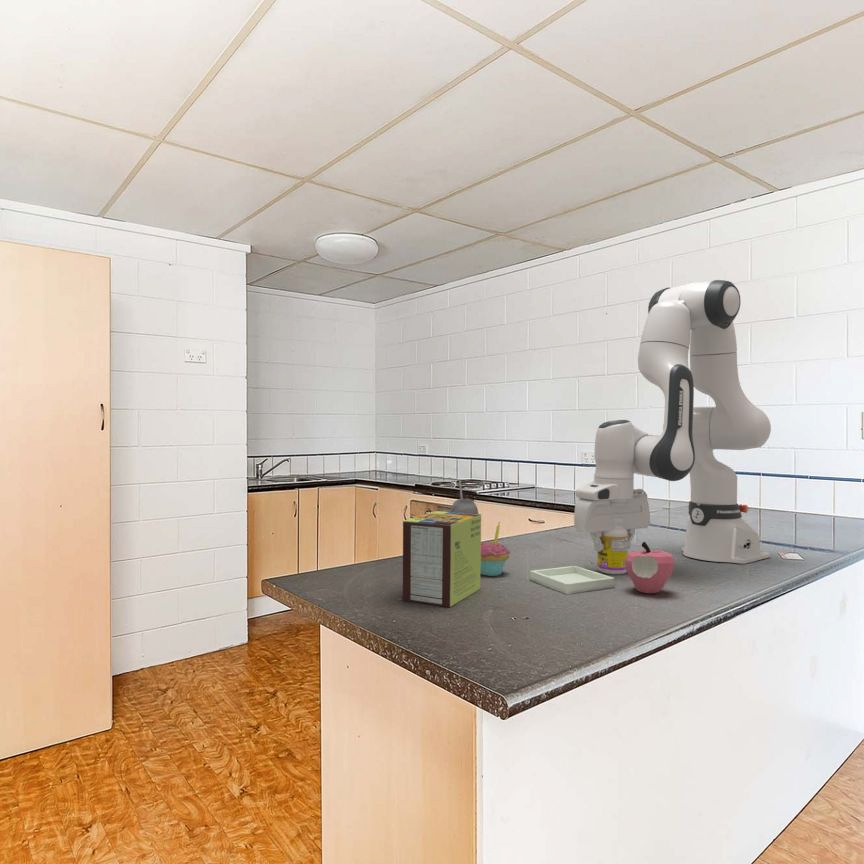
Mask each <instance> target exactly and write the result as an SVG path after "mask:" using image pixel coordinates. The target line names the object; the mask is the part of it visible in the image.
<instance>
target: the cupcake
mask: <svg viewBox="0 0 864 864" xmlns="http://www.w3.org/2000/svg"><path fill="white" fill-rule="evenodd" d="M500 523H501V522H500V521H499V522H498V524H497V525H496V528H495V529H496V530H495V534H494V535H495V536H494V541H491V542H490V541H488V542H481V570H480V575H483V576H489V577H490V576H491V577H497V576H501V575H502V572H503V570H504V569H503V568H504V566H505V563H506V561H508V560H509V558H510V554H511V552H510V551H509V549H508V548H507V547H506V546H504V545H503V544H501V543H499V542H498V538H499V533H500V527H501V526H500V525H501V524H500Z"/></svg>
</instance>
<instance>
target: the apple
mask: <svg viewBox="0 0 864 864" xmlns="http://www.w3.org/2000/svg"><path fill="white" fill-rule="evenodd" d="M641 547H642V548H643V550H634V551H631V552H629V553H627V557H626V559H625V566H626V573H627V574H628V576H629V578H630V579H631V580H630V581H631V582H632V583H633V585H634V587H635V589H636V590H637V591H639V592H640V593H642V594H643V593H644V594H649V595H650V594H653V595H654V594H657V593H659V592H661V591H662V590H663V589H664V586H665V585H666V583H667V582H668V580H669V579H670V577H671V576H672V574H673V571H674V568H675V560H674V557H673V555H672V554H671V553H669V552H667V551H663V550H658V549H656V550H651V549H650V547H649V545H648V544H647V542H646V541H644V542H642V543H641Z"/></svg>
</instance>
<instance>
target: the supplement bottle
mask: <svg viewBox="0 0 864 864" xmlns="http://www.w3.org/2000/svg"><path fill="white" fill-rule="evenodd" d="M623 522H624V521H623V517H622V518H614V524H615V528H614V529H612V530H610V531H606V532H601V537H599V538H600V540H601V543H604V544H605V547H604V551H600V552H598V551H597V570H598V572H599V573H601V574H605V575H606V574H608V575H623V574H626V573H627V571H626V566H625V559H626V557H627V555H628V549H627V543H628V532H627V530H626V529H625V528H623V527H622V524H623Z"/></svg>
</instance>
